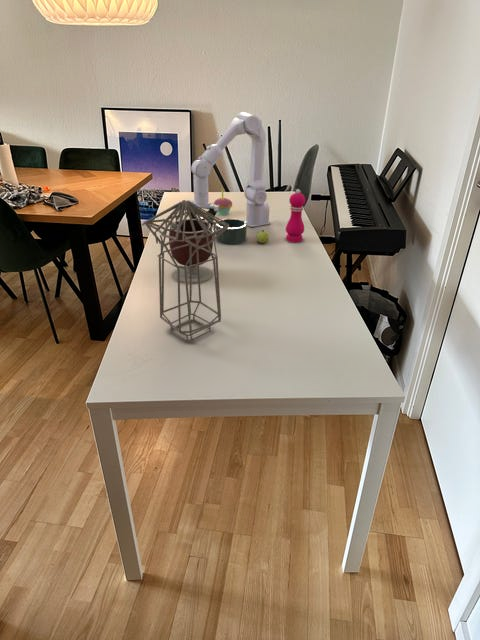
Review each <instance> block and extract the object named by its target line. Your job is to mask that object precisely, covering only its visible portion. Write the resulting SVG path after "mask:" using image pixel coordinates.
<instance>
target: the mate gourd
mask: <svg viewBox="0 0 480 640" xmlns="http://www.w3.org/2000/svg"><path fill="white" fill-rule="evenodd" d="M170 220H171V219H169V220H168V221H167V224H168V223H169V221H170ZM192 221H193V224H194V228H195V231H196V234H197V236H201V235H202V233H203V232H204V230H203V229H202V227H201V226H200V224H199V223H198V221H197V220H196V219H192ZM175 222H176V220H175V221H174V220H173V221H172V223H171V224H170V226H169V229H172V228H175ZM200 222H201V221H200ZM203 222H204V224H205V225H206V227H207V225H208V221H206V220H205V221H204V220H203ZM178 224H179V219H178V220H177V228H178ZM202 225H203V224H202ZM183 228H184V223H183V224H182V226H181V227H180V230H181V231H182V232H183ZM208 229H209V230H210V231H212V229H211V224H210V223H209V228H208ZM181 231H179V235H178V239H177V240H182V239H183V234H182V233H181ZM207 232H208V231H207ZM176 233H177V230H175V231H168V235H169V236H172V237H176ZM184 234H185V235H186V237H190V236H194V233H193V229H192V226H191V222H190V219H189V218H186V220H185V232H184ZM208 234H209V232H208ZM204 235H206V233H205V234H204ZM186 237H185V236H184V238H186ZM211 239H213V235H210V236H208V242H209V241H210V240H211ZM171 240H173V239H170V238H168V242H169V241H171ZM189 240H190V241H191V242H192V243H193V244H195V245H196V239H195V238H192V239H189ZM198 240H199V239H197V241H198ZM186 244H189V243H187V242H185V241H184V242H180V241H175V242H173V243H171V244H169V249H173V248H176V247H180V246H183V245H186ZM204 244H207V237H204V238H202V239H201V240H200V242H199V243H198V246H202V245H204ZM209 246H210V248H211V251H212V252H213V247H214V241H213V242H212V243H210V244H209ZM203 248H204V249H206V250H208V251H209V249H208V246H206V247H203ZM195 249H196V248H195V247H193V246H192V254H193V252H194V251H195ZM170 253H171V255H172V256H173V258H174V260H175V261H176V263H177V264H179V265H180V266H185V264H186V263H187V261H188V260H189V258H190V244H189V245H188V246H185V247H181V248H178V249H175V250H171V251H170ZM198 255H199V263H200V262H204V261H207V260H210V259H209V258H210V257H212V256H211V254H210V253H208V252H206V251H204V250H202V249H198ZM194 264H197V255H196V252H195V253H194V255H193V256H192V265H194ZM204 264H205V263H202V264H199V272H200V283H203V282H206V281H208V280H209V279H211V277H212V271H211V270H210V269H209V268H207V267H205V266H202V265H204ZM187 266H190V261H189V262H188V264H187V265H186V267H187ZM179 272H180V283H184V284H186V283H185V272H184V269H182V268H179ZM173 277H174V280H176V281H178V279H177V269H176V270H175V271H174V272H173ZM187 280H188V284H190V268H187ZM192 284H198V272H197V265H196V266H193V267H192Z"/></svg>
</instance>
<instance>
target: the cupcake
mask: <svg viewBox="0 0 480 640" xmlns="http://www.w3.org/2000/svg"><path fill="white" fill-rule="evenodd" d="M213 204H215V205H219V210H218V211H217V214H218V215H219V216H228V215H229V214H230V211H231V208H233V202H232V200H231V199H229V198H227V197H224V188H222V189H221V197H219V198H217V199H215V200H214V202H213Z"/></svg>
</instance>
